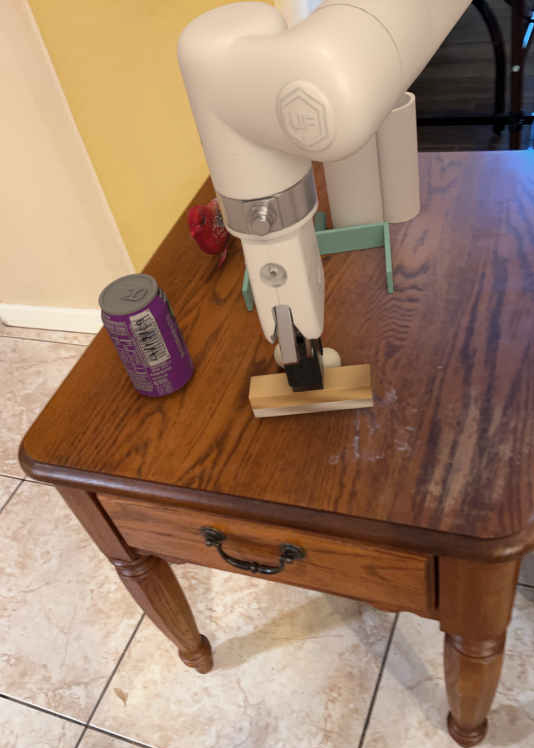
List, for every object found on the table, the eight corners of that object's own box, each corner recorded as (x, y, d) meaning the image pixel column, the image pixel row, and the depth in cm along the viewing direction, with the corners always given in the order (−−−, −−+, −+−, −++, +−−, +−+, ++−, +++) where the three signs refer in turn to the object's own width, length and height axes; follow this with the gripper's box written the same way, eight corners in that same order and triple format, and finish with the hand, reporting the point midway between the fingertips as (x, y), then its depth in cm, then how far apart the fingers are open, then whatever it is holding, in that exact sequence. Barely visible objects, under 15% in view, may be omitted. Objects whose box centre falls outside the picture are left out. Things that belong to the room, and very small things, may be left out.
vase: (349, 248, 87) (326, 80, 72) (322, 223, 92) (295, 61, 77) (427, 211, 89) (421, 39, 73) (397, 189, 93) (385, 23, 78)
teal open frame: (388, 217, 90) (387, 195, 87) (393, 292, 80) (391, 271, 78) (258, 236, 93) (253, 216, 91) (247, 311, 84) (241, 290, 81)
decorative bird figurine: (199, 292, 88) (175, 221, 80) (235, 211, 98) (217, 142, 91) (220, 291, 87) (198, 220, 80) (255, 210, 97) (237, 140, 90)
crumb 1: (306, 353, 77) (301, 331, 74) (305, 373, 75) (300, 351, 72) (278, 356, 77) (272, 334, 75) (276, 376, 76) (270, 354, 73)
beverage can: (205, 359, 80) (172, 271, 71) (181, 404, 76) (143, 317, 67) (151, 354, 82) (113, 269, 73) (125, 398, 78) (81, 313, 69)
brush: (372, 385, 71) (362, 306, 63) (373, 406, 69) (363, 327, 61) (257, 397, 73) (233, 322, 66) (255, 418, 71) (230, 343, 64)
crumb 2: (343, 362, 75) (339, 339, 72) (342, 383, 73) (338, 360, 70) (313, 365, 75) (308, 342, 73) (312, 386, 73) (307, 363, 71)
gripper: (312, 251, 48) (345, 429, 62) (317, 134, 58) (345, 310, 72) (207, 266, 49) (263, 437, 63) (230, 150, 59) (274, 319, 73)
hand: (306, 368), depth 68 cm, fingers closed on brush, 3 cm apart
